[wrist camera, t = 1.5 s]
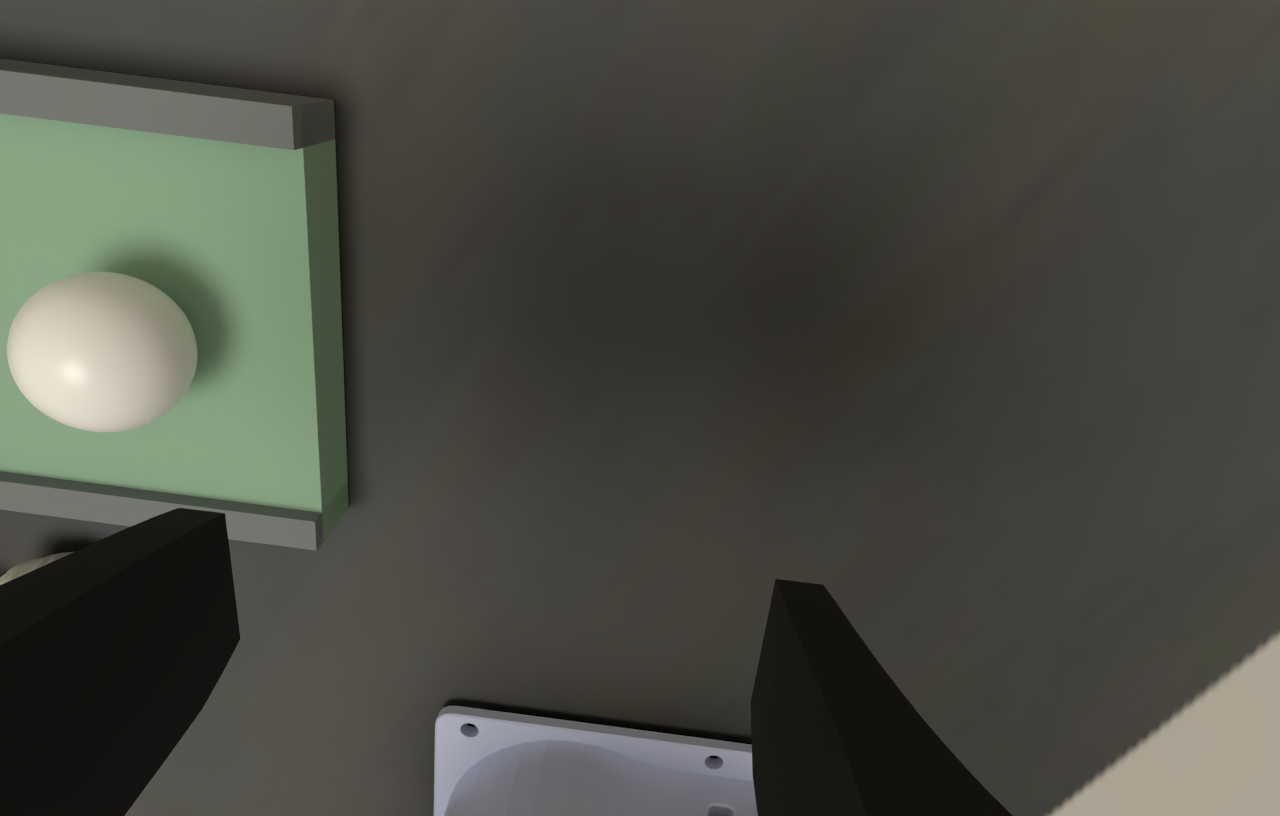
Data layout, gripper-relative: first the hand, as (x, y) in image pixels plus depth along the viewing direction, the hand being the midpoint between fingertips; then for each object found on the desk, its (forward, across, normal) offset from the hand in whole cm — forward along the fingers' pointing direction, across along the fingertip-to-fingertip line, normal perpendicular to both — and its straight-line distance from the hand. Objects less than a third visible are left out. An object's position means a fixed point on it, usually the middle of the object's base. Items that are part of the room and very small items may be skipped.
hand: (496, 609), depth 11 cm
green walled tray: (+9, +13, 0) cm, 16 cm away
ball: (+6, +9, 0) cm, 11 cm away
